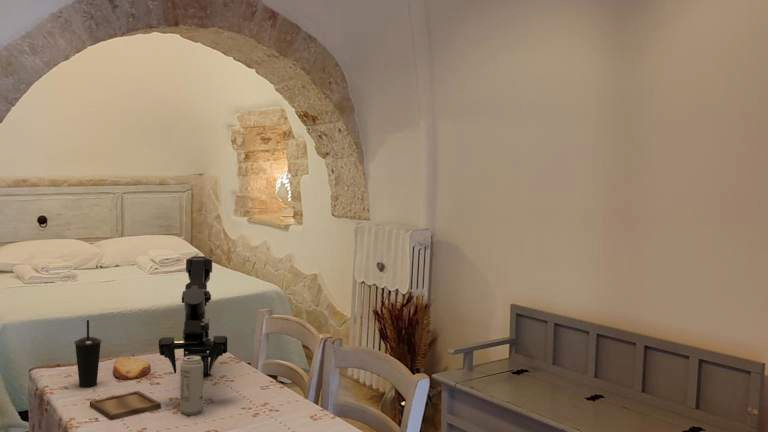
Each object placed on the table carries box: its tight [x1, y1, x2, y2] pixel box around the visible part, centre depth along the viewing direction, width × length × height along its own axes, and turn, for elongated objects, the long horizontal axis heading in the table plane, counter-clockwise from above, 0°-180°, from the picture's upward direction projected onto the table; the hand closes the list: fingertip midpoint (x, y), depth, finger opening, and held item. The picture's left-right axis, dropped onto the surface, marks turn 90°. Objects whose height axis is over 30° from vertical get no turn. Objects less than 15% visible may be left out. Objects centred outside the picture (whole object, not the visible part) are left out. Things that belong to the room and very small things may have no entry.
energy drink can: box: [179, 356, 204, 416], centre depth 190 cm, size 6×6×15 cm
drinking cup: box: [73, 319, 102, 389], centre depth 211 cm, size 8×8×20 cm
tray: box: [89, 390, 162, 421], centre depth 193 cm, size 14×14×2 cm
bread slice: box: [112, 356, 152, 381], centre depth 228 cm, size 18×18×4 cm
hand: (192, 372), depth 193 cm, fingers open, 9 cm apart
